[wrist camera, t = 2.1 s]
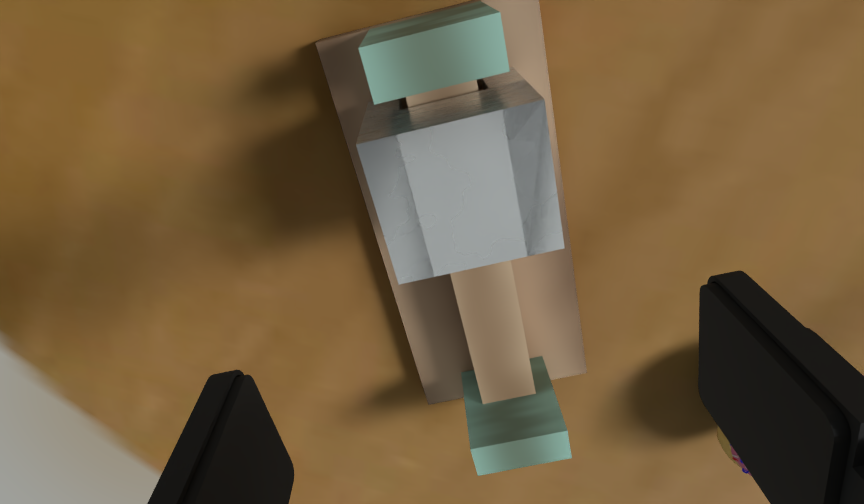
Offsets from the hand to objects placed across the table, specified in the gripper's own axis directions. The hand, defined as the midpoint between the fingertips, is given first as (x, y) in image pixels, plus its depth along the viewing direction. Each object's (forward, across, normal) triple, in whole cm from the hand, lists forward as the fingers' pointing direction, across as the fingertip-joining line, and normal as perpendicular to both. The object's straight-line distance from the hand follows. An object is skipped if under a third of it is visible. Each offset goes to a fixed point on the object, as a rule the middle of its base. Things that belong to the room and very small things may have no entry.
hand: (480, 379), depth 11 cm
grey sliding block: (+17, -1, 0) cm, 17 cm away
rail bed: (+19, -1, +5) cm, 19 cm away
